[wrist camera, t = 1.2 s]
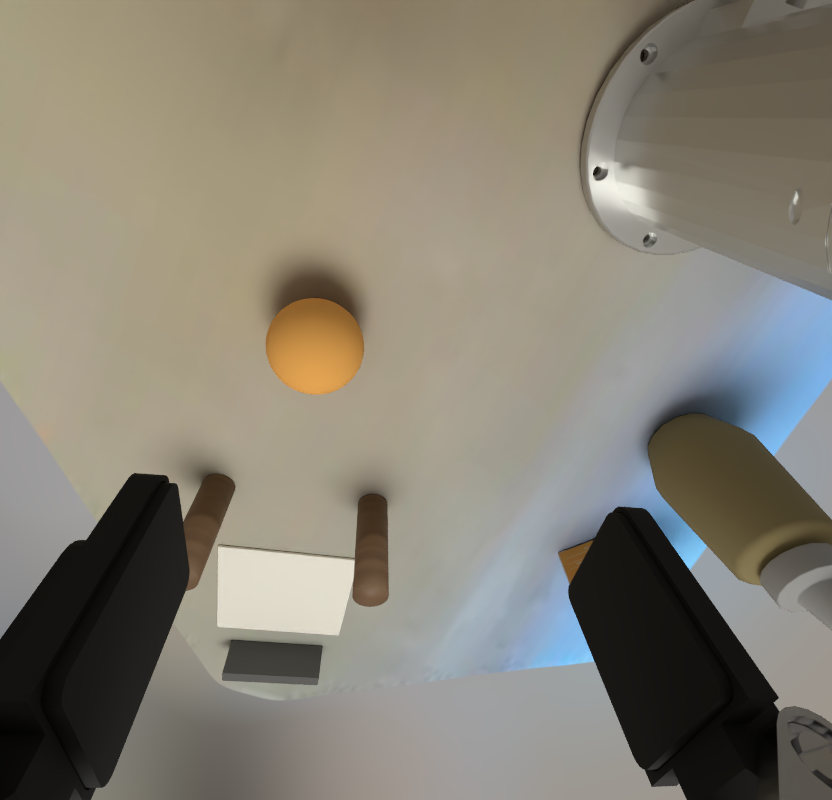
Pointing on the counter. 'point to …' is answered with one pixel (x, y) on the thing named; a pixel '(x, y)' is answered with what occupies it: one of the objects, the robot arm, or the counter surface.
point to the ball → (314, 346)
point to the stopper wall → (272, 663)
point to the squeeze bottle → (746, 510)
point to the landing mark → (282, 590)
